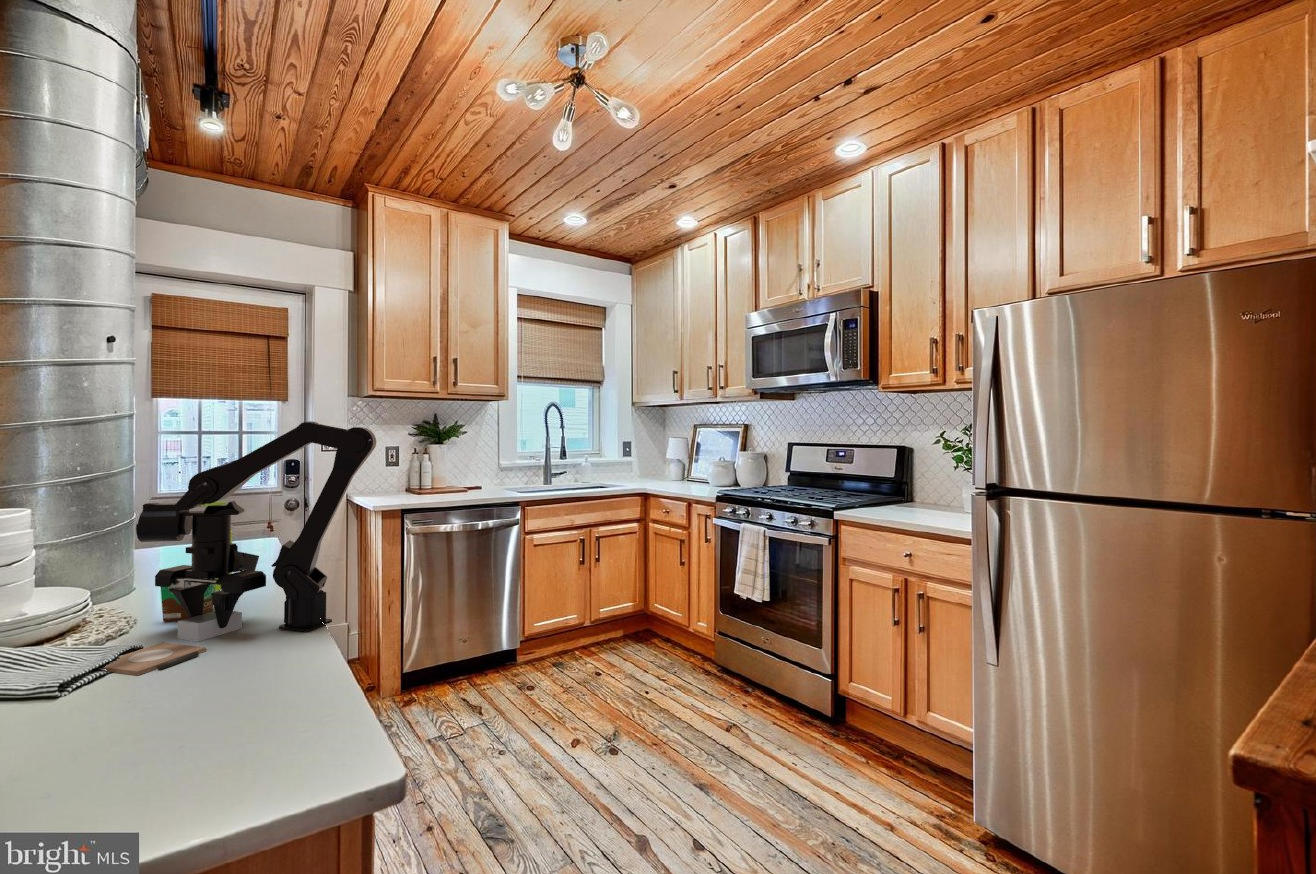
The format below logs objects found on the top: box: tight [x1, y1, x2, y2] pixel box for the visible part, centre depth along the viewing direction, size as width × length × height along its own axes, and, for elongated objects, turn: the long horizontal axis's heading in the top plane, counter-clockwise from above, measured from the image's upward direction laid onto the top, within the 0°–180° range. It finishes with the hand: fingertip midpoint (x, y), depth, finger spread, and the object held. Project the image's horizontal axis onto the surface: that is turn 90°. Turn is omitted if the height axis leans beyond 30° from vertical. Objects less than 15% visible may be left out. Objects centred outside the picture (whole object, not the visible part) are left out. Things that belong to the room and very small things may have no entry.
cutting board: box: [104, 642, 207, 676], centre depth 100 cm, size 10×11×1 cm
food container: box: [160, 578, 216, 623], centre depth 124 cm, size 12×6×10 cm, turn 179°
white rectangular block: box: [177, 610, 243, 643], centre depth 114 cm, size 5×8×3 cm, turn 161°
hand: (210, 626), depth 114 cm, fingers closed on white rectangular block, 5 cm apart
